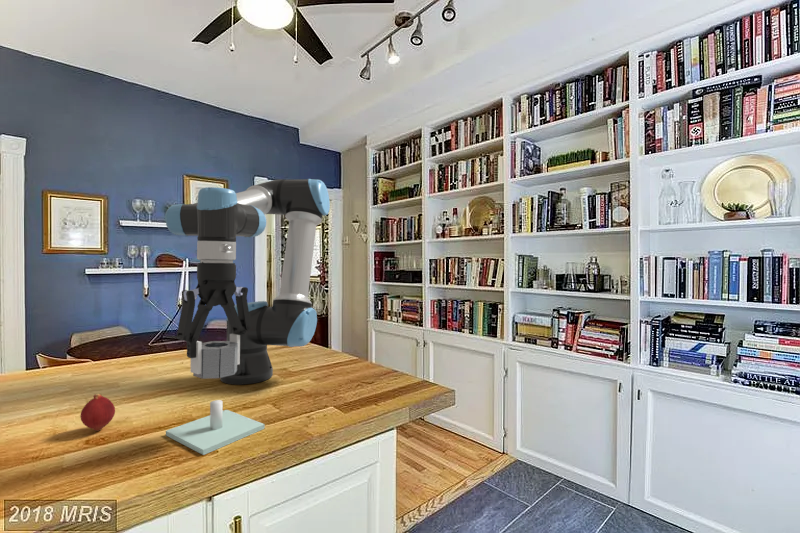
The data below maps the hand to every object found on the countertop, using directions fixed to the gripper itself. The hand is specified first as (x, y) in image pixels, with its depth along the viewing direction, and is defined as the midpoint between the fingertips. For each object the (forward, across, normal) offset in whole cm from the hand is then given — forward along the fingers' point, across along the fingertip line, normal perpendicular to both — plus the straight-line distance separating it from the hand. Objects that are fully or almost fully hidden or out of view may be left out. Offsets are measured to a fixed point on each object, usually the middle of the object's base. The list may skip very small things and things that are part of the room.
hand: (216, 367), depth 84 cm
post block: (+14, 0, 0) cm, 14 cm away
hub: (+1, 0, 0) cm, 1 cm away
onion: (+14, -14, +21) cm, 29 cm away
